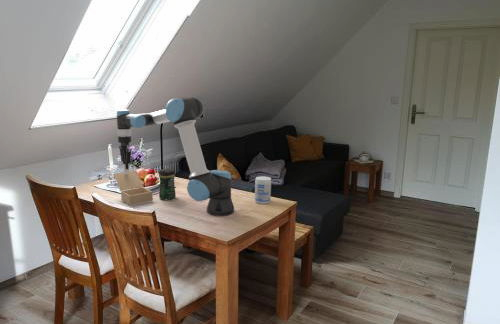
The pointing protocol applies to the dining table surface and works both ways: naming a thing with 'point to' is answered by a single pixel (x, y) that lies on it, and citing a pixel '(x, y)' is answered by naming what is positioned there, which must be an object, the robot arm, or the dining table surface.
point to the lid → (128, 180)
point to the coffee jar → (167, 184)
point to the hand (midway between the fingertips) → (126, 174)
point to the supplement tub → (262, 189)
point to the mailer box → (136, 196)
